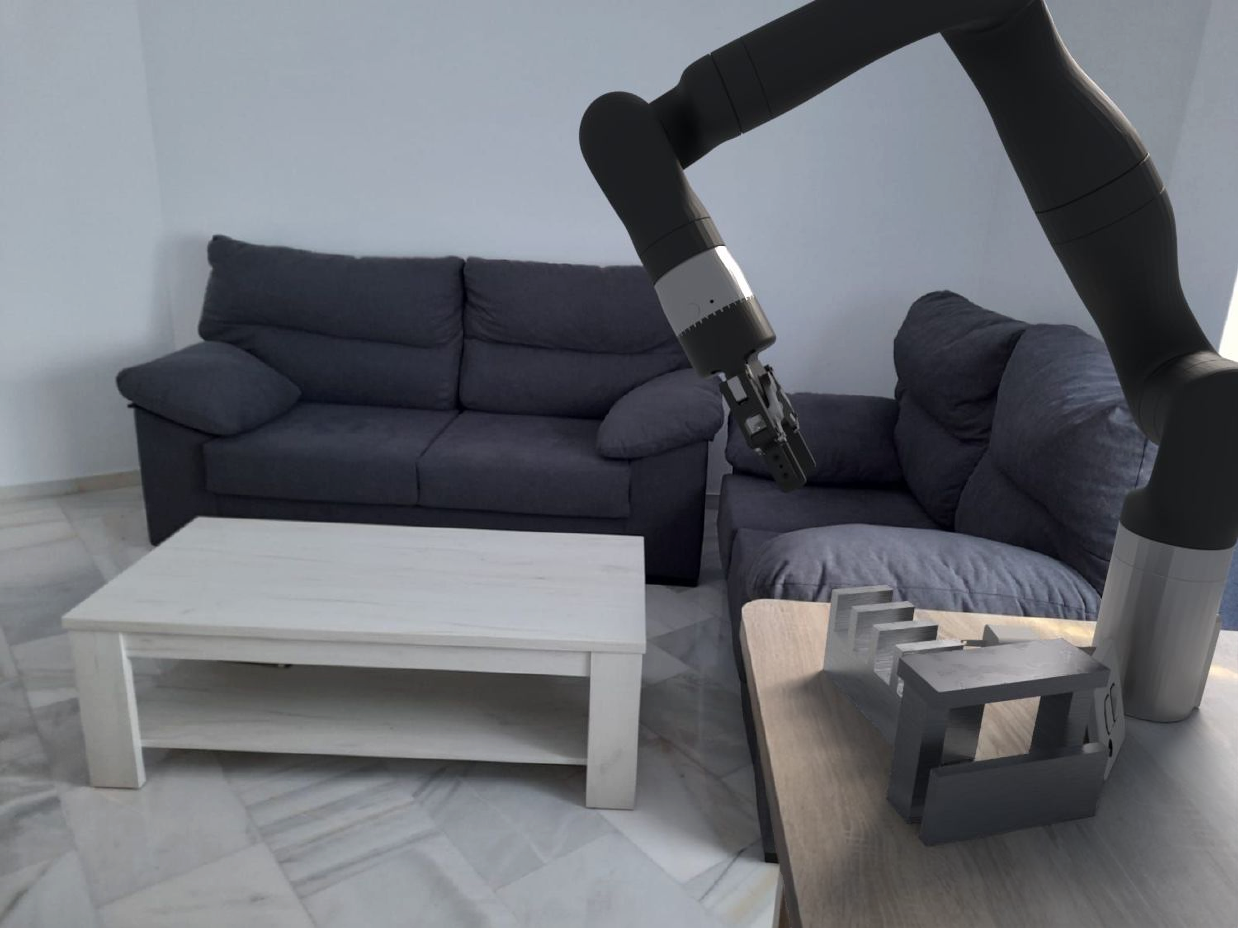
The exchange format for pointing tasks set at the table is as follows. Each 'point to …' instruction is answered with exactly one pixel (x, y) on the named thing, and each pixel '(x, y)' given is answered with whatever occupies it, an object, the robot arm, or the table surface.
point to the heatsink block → (888, 662)
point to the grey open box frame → (1008, 786)
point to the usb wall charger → (1003, 636)
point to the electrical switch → (1106, 705)
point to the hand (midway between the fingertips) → (801, 480)
